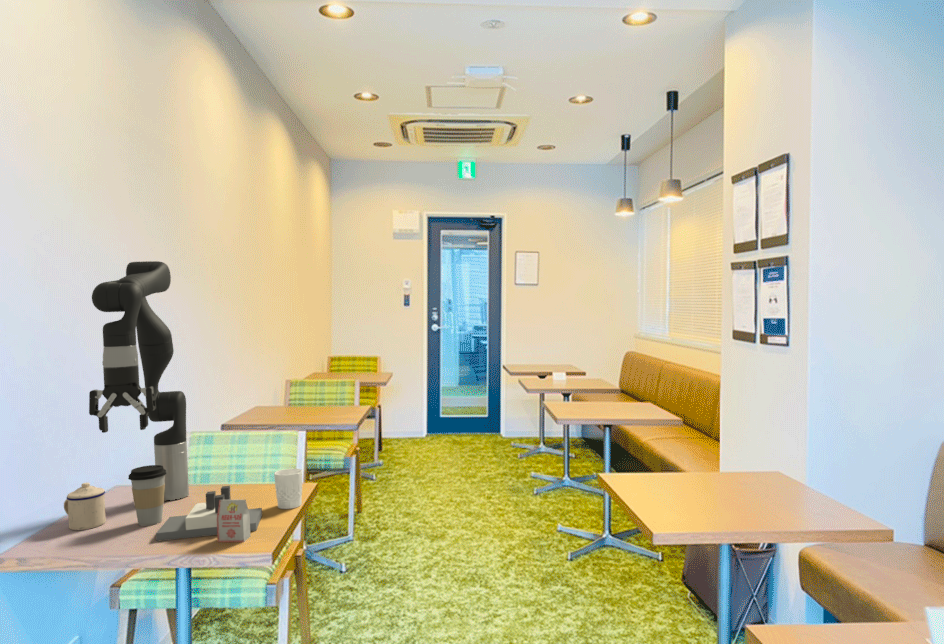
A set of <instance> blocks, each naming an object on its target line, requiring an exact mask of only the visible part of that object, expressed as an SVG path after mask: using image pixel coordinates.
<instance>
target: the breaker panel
mask: <svg viewBox="0 0 944 644" xmlns="http://www.w3.org/2000/svg"><path fill="white" fill-rule="evenodd" d="M231 497H232V496H231V485H224V486H221V487H220V494H216V496H215V508H214V509H206V502H198V503H195V505H194V506H193V508H192V509H191V510H190V512H189V513H188V514H187V515H186V514H185V515H176V516H169V517H168V518H167V519H166V521H164V523H163V524H162V525H161V527H159V529H158V530H157V531H156V533H155V539H156V542H160V541H159V540H163V541H170V539H172V540H180V539H179V538H182V539H191V538H200V537H209V536H216V535H217V514H218V508H219V500H232V498H231ZM248 510H249V513H250V532H256V531H257V529H258V527H259V524H260V522H261V519H262V517H263V507H258V508H257V507H256V508H248Z"/></svg>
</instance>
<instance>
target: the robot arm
mask: <svg viewBox="0 0 944 644" xmlns="http://www.w3.org/2000/svg"><path fill="white" fill-rule="evenodd" d="M125 268H126V269H125V276H123V277H121V278H118V279H117V280H110V281H105V282H101V283H99V284H97V285H96V286H95V288H94V289H93V290H92V293H91V302H92V304H93V306H94V307H95V309H97V310H98V311H100V312H103V313H120V312H121V313H122V312H124V314H123V315H122V317H121V318H120V319H118V320H115V321H110V322H107V323H105V324H104V325H103V326H102V345H103V352H102V362H101V363H102V367H103V368H102V370H103V371H102V373H103V390H99V389H92V390H90V391H89V393H88V394H89V397H88V398H89V399H88V400H89V403H88V406H89V407H88V414H89V415H90V416H95V417H97V418H98V428H99V430H100V431H101V433H103V434H104V433H108V432H109V420H108V419H109V417H108V415H107V414H108V413H109V412H110V410H111V409H112V408H113V407H114V408H119V407H129V406H132V407H133V408H134V409H135V410H137V411H138V413H139V429H140V431H143V430H146V427H148V426H149V421H151V422H153V423H161V422H173V423H172V426H171V427H170V428H168V429H165V430H163V431H160V432H158V433H156V434H155V435H154V437H153V447H154V448H153V449H154V465H161V466H163V468H164V469H165V470H166V473H167V474H166V475H165V481H164V483H165V490H164V500H165V501H164V502H166V500H170V501H176V500H175V499H177V500H179V499H180V498H181V499H184V498H186V497H188V496H189V495H190V488H189V487H190V486H189V467H188V464H189V462H188V448H187V447H188V445H187V443H188V442H187V398H186V395H185V393H184V392H183V391H181V390H174V391H173V390H172V391H159V383H160V381H161V379H162V378H161V377H162V376H163V374H164V372H165V370H166V369H167V367H168V366H169V364H170V362H171V361H172V359H173V356H174V351H175V350H174V345H173V343H174V342H173V337H172V336H173V335H172V332H171V330H170V329H169V327H168V326H167V324H166V323H165V322H164V321H163V320H162V319H161V318H160V317H159V315H158V314H156V312H155V311H154V310H153V309H152V307H151V306H150V304H149V302H148V300H147V297H148V296H151V295H153V294H160V293H163V292H166V291H168V290H169V288H170V286H171V282H172V281H171V279H172V277H171V271H170V267H169V266H168V264H167V263H165V262H162V261H158V260H156V261H153V260H152V261H151V260H150V261H130V262H129V263H128V264H127V265H126V267H125ZM137 344H138V347H137ZM138 351H139V353H138ZM139 356H140V360H141V366H142V372H143V380H144V387H141V385H140V371H139V370H140V367H139ZM141 394H142V395H143V396H144V397H145V404H146V405H144V402H143V401H142V400H141V399H140V395H141ZM102 396H103V397H104V398H105V399H106V402H104V404H103V406H102V407H101V408H100V409H99V399H101V398H102Z"/></svg>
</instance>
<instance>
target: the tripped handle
mask: <svg viewBox="0 0 944 644" xmlns="http://www.w3.org/2000/svg"><path fill="white" fill-rule="evenodd" d="M216 495H217V494H216V490H213V491H211V490H210V491H206V494H205V503H206V509H214V508H215V496H216Z"/></svg>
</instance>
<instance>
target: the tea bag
mask: <svg viewBox="0 0 944 644" xmlns="http://www.w3.org/2000/svg"><path fill="white" fill-rule="evenodd" d="M248 509H249V508H248V503H247V499H231V500H219V508H218V514H217V543H245V542H246V541H247V540H248V539H250V538H251V531H250V513H249V510H248Z"/></svg>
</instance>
